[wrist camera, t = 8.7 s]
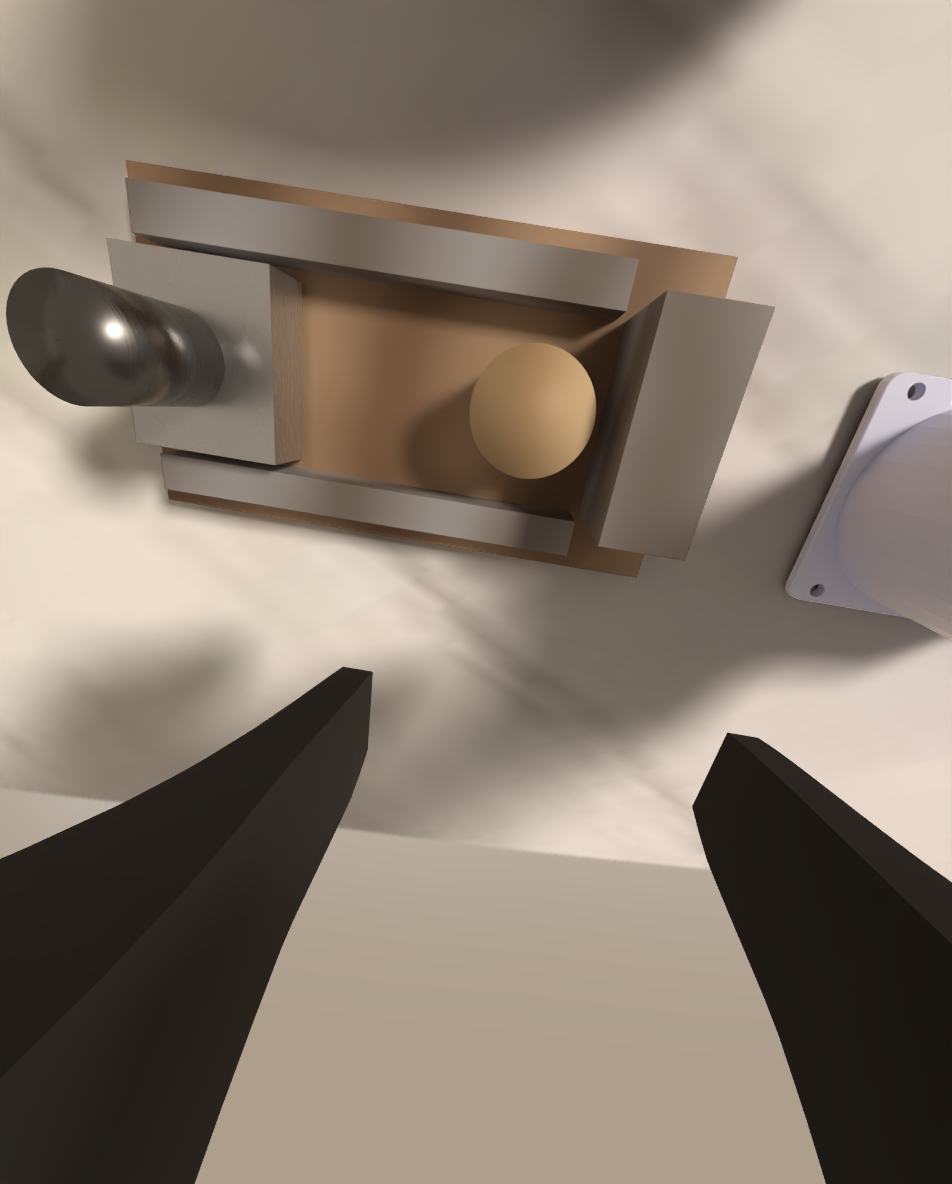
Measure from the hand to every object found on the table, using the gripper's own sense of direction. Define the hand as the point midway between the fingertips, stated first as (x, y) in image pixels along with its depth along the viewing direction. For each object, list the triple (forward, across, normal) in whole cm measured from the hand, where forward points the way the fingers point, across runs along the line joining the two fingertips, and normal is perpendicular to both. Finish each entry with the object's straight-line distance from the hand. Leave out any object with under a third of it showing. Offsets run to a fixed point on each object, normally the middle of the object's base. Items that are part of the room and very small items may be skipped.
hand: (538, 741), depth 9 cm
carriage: (+8, +11, -6) cm, 15 cm away
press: (+10, +5, -6) cm, 13 cm away
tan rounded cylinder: (+9, +1, -6) cm, 11 cm away
